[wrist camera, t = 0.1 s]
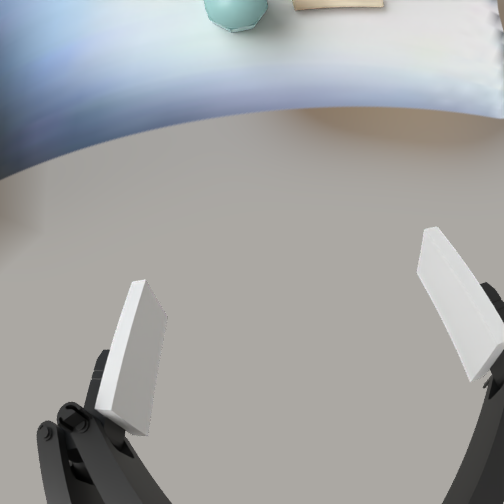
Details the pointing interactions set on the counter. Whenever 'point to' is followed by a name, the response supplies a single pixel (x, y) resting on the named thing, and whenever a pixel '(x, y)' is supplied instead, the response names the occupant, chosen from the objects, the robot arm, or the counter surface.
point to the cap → (235, 13)
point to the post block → (334, 4)
